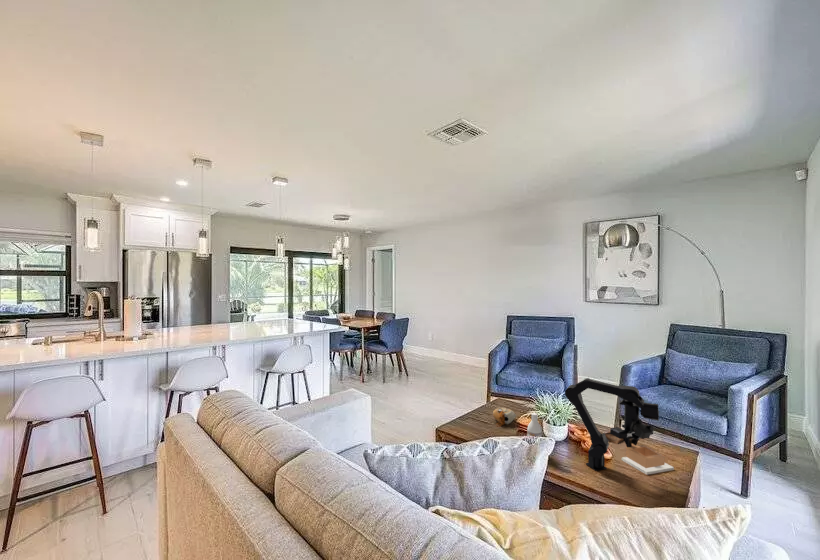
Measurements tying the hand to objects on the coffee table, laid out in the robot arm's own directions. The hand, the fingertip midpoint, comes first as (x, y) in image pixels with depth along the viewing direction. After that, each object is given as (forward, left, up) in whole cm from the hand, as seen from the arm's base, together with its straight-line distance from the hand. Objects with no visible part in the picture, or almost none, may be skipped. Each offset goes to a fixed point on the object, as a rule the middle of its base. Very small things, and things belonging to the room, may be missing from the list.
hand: (631, 449), depth 168 cm
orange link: (0, -5, -1) cm, 5 cm away
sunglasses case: (+26, +34, -13) cm, 45 cm away
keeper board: (+16, +6, -12) cm, 21 cm away
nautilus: (-25, +71, -12) cm, 76 cm away
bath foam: (-29, +31, -12) cm, 44 cm away
